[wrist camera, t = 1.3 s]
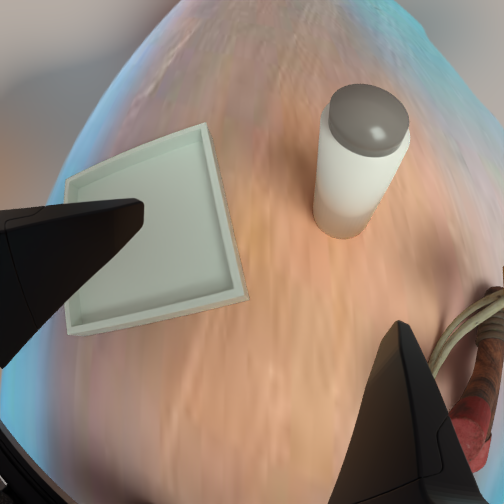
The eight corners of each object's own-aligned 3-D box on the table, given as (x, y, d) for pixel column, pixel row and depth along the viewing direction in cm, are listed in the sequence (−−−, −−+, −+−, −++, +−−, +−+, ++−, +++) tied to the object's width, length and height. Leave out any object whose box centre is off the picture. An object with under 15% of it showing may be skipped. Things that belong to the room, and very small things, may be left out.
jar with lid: (377, 230, 23) (433, 142, 12) (323, 246, 23) (344, 159, 12) (357, 180, 25) (388, 75, 13) (305, 193, 25) (307, 86, 13)
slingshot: (540, 326, 18) (511, 478, 11) (457, 331, 26) (415, 466, 19) (540, 192, 11) (541, 462, 4) (409, 218, 19) (339, 432, 12)
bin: (249, 299, 23) (244, 295, 21) (84, 336, 24) (67, 334, 22) (212, 137, 28) (205, 122, 26) (78, 189, 29) (65, 179, 27)
